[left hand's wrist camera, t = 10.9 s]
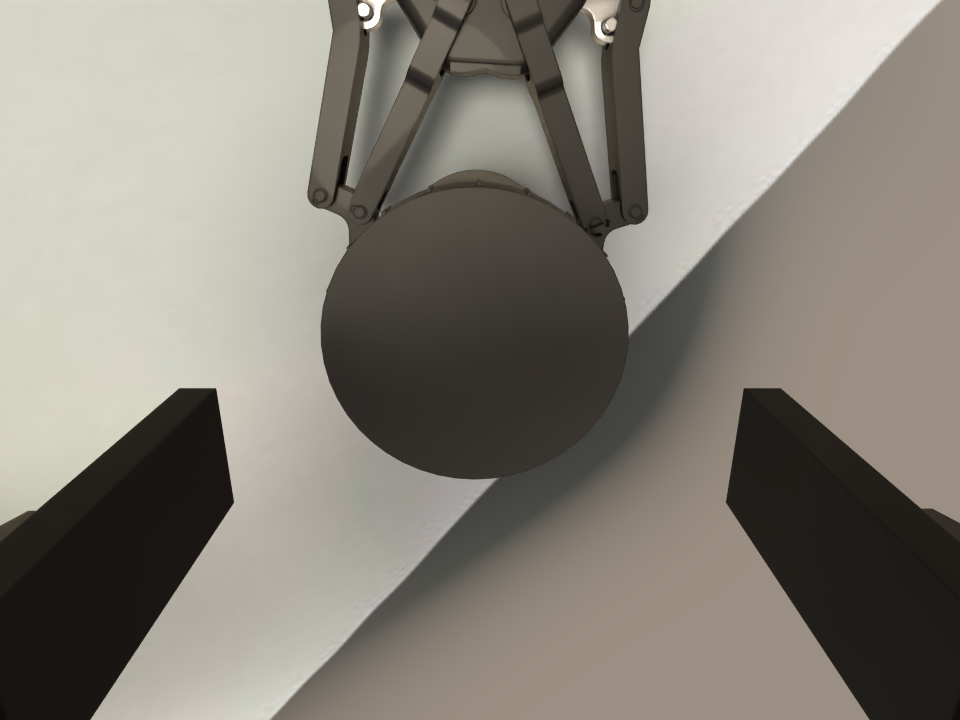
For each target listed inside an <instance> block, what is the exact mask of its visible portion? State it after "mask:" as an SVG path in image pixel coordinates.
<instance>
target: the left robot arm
mask: <svg viewBox="0 0 960 720" xmlns="http://www.w3.org/2000/svg"><path fill="white" fill-rule="evenodd" d="M233 503H234V499H233V493H232V487H231V480H230V474H229V467H228V461H227V455H226V448H225V442H224V435H223V429H222V423H221V416H220V410H219V404H218V397H217V391H216V388H179V389H178V390H177V391H176V392H175V393H173V394H172V395H171V396H170V397H169V398H168V399H166V400H165V401H164V402H163V403H162V404H161V405H159V406H158V407H157V408H156V409H155V410H154V411H152V412H151V413H150V414H149V415H148V416H147V417H145V418H144V419H143V420H142V421H141V422H140V423H138V424H137V425H136V426H135V427H134V428H133V429H131V430H130V431H129V432H128V433H127V434H126V435H124V436H123V437H122V438H121V439H120V440H119V441H117V442H116V443H115V444H114V445H113V446H112V447H110V448H109V449H108V450H107V451H106V452H105V453H103V454H102V455H101V456H100V457H99V458H98V459H96V460H95V461H94V462H93V463H92V464H91V465H89V466H88V467H87V468H86V469H85V470H84V471H82V472H81V473H80V474H79V475H78V476H77V477H75V478H74V479H73V480H72V481H71V482H70V483H68V484H67V485H66V486H65V487H64V488H63V489H61V490H60V491H59V492H58V493H57V494H56V495H54V496H53V497H52V498H51V499H50V500H49V501H47V502H46V503H45V504H44V505H43V506H42V507H40V508H39V509H38V510H37V511H27V512H25V513H24V514H22V515H20V516H18V517H16V518H14V519H12V520H10V521H8V522H7V523H5V524H3V525H1V526H0V720H90V719H91V718H92V716H93V715H94V713H95V712H96V710H97V709H98V707H99V706H100V704H101V703H102V701H103V700H104V698H105V697H106V695H107V694H108V692H109V691H110V689H111V688H112V686H113V685H114V683H115V682H116V680H117V679H118V677H119V676H120V674H121V673H122V671H123V670H124V668H125V667H126V665H127V663H128V662H129V660H130V659H131V657H132V656H133V654H134V653H135V651H136V650H137V648H138V647H139V645H140V644H141V642H142V641H143V639H144V638H145V636H146V635H147V633H148V632H149V630H150V629H151V627H152V626H153V624H154V623H155V621H156V620H157V618H158V617H159V615H160V614H161V612H162V611H163V609H164V608H165V606H166V605H167V603H168V602H169V600H170V599H171V597H172V595H173V594H174V592H175V591H176V589H177V588H178V586H179V585H180V583H181V582H182V580H183V579H184V577H185V576H186V574H187V573H188V571H189V570H190V568H191V567H192V565H193V564H194V562H195V561H196V559H197V558H198V556H199V555H200V553H201V552H202V550H203V549H204V547H205V546H206V544H207V543H208V541H209V540H210V538H211V537H212V535H213V534H214V532H215V530H216V529H217V527H218V526H219V524H220V523H221V521H222V520H223V518H224V517H225V515H226V514H227V512H228V511H229V509H230V508H231V506H232V505H233ZM726 503H727V505H728V506H729V508H730V509H731V511H732V512H733V514H734V515H735V517H736V518H737V520H738V521H739V523H740V524H741V526H742V527H743V529H744V530H745V532H746V533H747V535H748V537H749V538H750V539H751V541H752V543H753V544H754V546H755V547H756V549H757V550H758V552H759V553H760V555H761V556H762V558H763V559H764V561H765V562H766V564H767V565H768V567H769V568H770V570H771V571H772V573H773V574H774V576H775V577H776V579H777V580H778V582H779V583H780V585H781V586H782V588H783V589H784V591H785V592H786V594H787V595H788V597H789V598H790V600H791V602H792V603H793V605H794V606H795V607H796V609H797V611H798V612H799V614H800V615H801V617H802V618H803V620H804V621H805V623H806V624H807V626H808V627H809V629H810V630H811V632H812V633H813V635H814V636H815V638H816V639H817V641H818V642H819V644H820V645H821V647H822V648H823V650H824V651H825V653H826V654H827V656H828V657H829V659H830V660H831V662H832V663H833V665H834V667H835V668H836V670H837V671H838V673H839V674H840V676H841V677H842V679H843V680H844V681H845V683H846V685H847V686H848V688H849V689H850V691H851V692H852V694H853V695H854V697H855V698H856V700H857V701H858V703H859V704H860V706H861V707H862V709H863V710H864V712H865V713H866V715H867V716H868V718H869V719H870V720H960V523H958V522H957V521H955V520H953V519H951V518H949V517H947V516H945V515H943V514H941V513H939V512H937V511H936V510H934V509H921V508H920V507H918V506H917V505H916V504H915V503H914V502H913V501H911V500H910V499H909V498H908V497H907V496H906V495H904V494H903V493H902V492H901V491H900V490H899V489H897V488H896V487H895V486H894V485H893V484H892V483H890V482H889V481H888V480H887V479H886V478H885V477H883V476H882V475H881V474H880V473H879V472H878V471H876V470H875V469H874V468H873V467H872V466H871V465H869V464H868V463H867V462H866V461H865V460H864V459H862V458H861V457H860V456H859V455H858V454H857V453H855V452H854V451H853V450H852V449H851V448H850V447H848V446H847V445H846V444H845V443H844V442H843V441H841V440H840V439H839V438H838V437H837V436H836V435H834V434H833V433H832V432H831V431H830V430H829V429H827V428H826V427H825V426H824V425H823V424H822V423H820V422H819V421H818V420H817V419H816V418H815V417H813V416H812V415H811V414H810V413H809V412H808V411H806V410H805V409H804V408H803V407H802V406H801V405H799V404H798V403H797V402H796V401H795V400H794V399H792V398H791V397H790V396H789V395H788V394H787V393H785V392H784V391H783V390H782V389H781V388H744V391H743V397H742V404H741V410H740V416H739V423H738V429H737V435H736V442H735V448H734V455H733V461H732V467H731V474H730V480H729V487H728V493H727V499H726Z"/></svg>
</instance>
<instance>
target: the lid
mask: <svg viewBox="0 0 960 720" xmlns="http://www.w3.org/2000/svg"><path fill="white" fill-rule="evenodd" d="M381 214H382V215H381V216H380V217H379V218H378V219H377V220H375V221H374V222H373V223H372V224H371V225H370V226H369V227H368V228H367V229H366V230H365V231H364V232H362V233H361V234H360V235H359V236H358V238H356V239H355V240H354V241H353V242H352V243H351V244H349V245H348V247H347V248H346V249H348V250H347V251H346V253H345V255H344V256H343V258H342V260H341V261H340V263H339V264H338V266H337V268H336V270H335V272H334V275H333V277H332V279H331V282H330V284H329V286H328V288H327V291H326V292H327V293H326V297H325V301H324V305H323V311H322V319H321V347H322V354H323V360H324V365H325V368H326V372H327V375H328V378H329V382H330V384H331V386H332V388H333V391H334V393H335V395H336V397H337V399H338V401H339V402H340V404H341V406H342V407H343V409H344V411H345V412H346V414H347V415H348V417H349V418H350V419H351V420H352V421H353V423H354V424H355V425H356V426H357V428H358V429H359V430H360V431H361V432H362V433H363V434H364V435H365V436H366V437H367V438H368V439H369V440H370V441H372V442H373V443H374V444H375V445H377V446H378V447H379V448H381V449H382V450H383V451H385V452H386V453H387V454H389V455H391V456H393V457H394V458H396V459H398V460H400V461H401V462H403V463H405V464H408V465H410V466H412V467H415V468H417V469H419V470H422V471H426V472H429V473H432V474H436V475H440V476H446V477H452V478H460V479H491V478H498V477H504V476H510V475H514V474H517V473H521V472H524V471H527V470H530V469H532V468H535V467H537V466H540V465H542V464H544V463H546V462H548V461H550V460H552V459H553V458H555V457H557V456H559V455H560V454H562V453H563V452H565V451H566V450H567V449H569V448H570V447H572V446H573V445H574V444H576V443H577V442H578V441H579V440H580V439H581V438H582V437H583V436H584V435H585V434H586V433H587V432H588V431H589V430H590V429H591V428H592V427H593V426H594V424H595V423H596V422H597V421H598V420H599V418H600V417H601V416H602V414H603V413H604V411H605V410H606V408H607V406H608V405H609V403H610V402H611V400H612V398H613V396H614V394H615V391H616V389H617V387H618V385H619V383H620V379H621V376H622V373H623V369H624V366H625V361H626V355H627V349H628V318H627V310H626V304H625V298H624V297H623V293H622V289H621V286H620V284H619V282H618V279H617V277H616V274H615V272H614V270H613V268H612V266H611V265H610V263H609V261H608V260H607V258H606V257H608V256H607V254H606V253H605V252H604V251H603V250H602V249H601V248H600V247H599V246H598V245H597V244H596V243H595V241H594V240H593V239H592V238H591V236H590V235H588V234H587V233H586V232H585V231H584V230H583V229H582V228H581V227H580V226H579V225H578V224H577V223H576V222H575V219H576V218H574V217H573V216H572V215H571V214H570V213H569V212H568V211H566V212H565V213H564V212H563V211H562V210H560V209H559V208H557V207H556V206H555V205H553V204H552V203H550V202H549V201H547V200H545V199H543V198H541V197H539V196H537V195H535V194H533V193H532V192H531V191H530V190H529V189H528V188H525V190H522V189H519V188H516V187H513V186H508V185H504V184H499V183H492V182H481V179H478V181H471V182H456V183H451V184H446V185H441V186H436V187H434V186H433V185H430V186H429V187H428V188H427V190H424V191H421V192H419V193H416V194H414V195H412V196H410V197H408V198H406V199H405V200H403V201H401V202H399V203H398V204H396V205H395V206H393V207H392V208H391V206H388V207H387V208H386V209H385V210H383V211H382V212H381Z"/></svg>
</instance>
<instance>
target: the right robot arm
mask: <svg viewBox="0 0 960 720" xmlns="http://www.w3.org/2000/svg"><path fill="white" fill-rule="evenodd" d="M395 1H397V2H398V4H399V6H400V7H401V9H402V11H403V12H404V14H405V16H406V17H407V19H408V20H409V22H410V24H411V25H412V27H413V29H414V30H415V32H416V33H417V35H418V37H419V38H420V40H421V41H420V44H419V46H418V48H417V50H416V52H415V55H414V57H413V59H412V61H411V64H410V66H409V68H408V71H407V75H406V78H405V80H404V83H403V85H402V87H401V89H400V92H399V94H398V96H397V98H396V100H395V103H394V105H393V107H392V109H391V111H390V114H389V116H388V118H387V120H386V123H385V125H384V127H383V129H382V131H381V134H380V136H379V138H378V140H377V142H376V145H375V147H374V149H373V151H372V153H371V156H370V158H369V160H368V162H367V165H366V167H365V169H364V171H363V173H362V176H361V178H360V180H359V182H358V184H357V187H356V189H353V188H351V187H348V186H346V185H345V184H346V178H347V172H348V167H349V161H350V156H351V150H352V144H353V139H354V133H355V127H356V122H357V116H358V111H359V105H360V99H361V94H362V88H363V82H364V77H365V71H366V66H367V60H368V53H369V32H372V31H375V30H377V29H378V28H379V27H380V26H381V24H382V21H383V12H384V10H385V8H386V7H387V5H388V4H390V3H392V2H395ZM650 1H651V0H328V2H329V8H330V15H331V21H332V27H333V35H332V41H331V47H330V54H329V60H328V66H327V73H326V79H325V85H324V92H323V98H322V104H321V110H320V117H319V123H318V129H317V136H316V142H315V148H314V155H313V161H312V167H311V174H310V180H309V186H308V199H309V201H310V203H311V204H312V205H313V206H314V207H316V208H321V209H326V210H329V211H331V212H333V213H336V214H338V215H340V216H341V217H343V218H344V219H345V221H346V222H347V224H348V227H349V244H351V243H352V242H353V241H354V240H355V239H356V238H358V236H359V235H360V234H361V233H362V232H364V231H365V230H366V229H367V228H368V227H369V226H370V225H371V224H372V223H373V222H374V221H375V220H377V219H378V214H379V212H380V211H381V210H380V209H381V206H382V204H383V202H384V200H385V198H386V196H387V194H388V192H389V189H390V187H391V185H392V183H393V181H394V179H395V177H396V175H397V172H398V170H399V168H400V166H401V164H402V162H403V160H404V158H405V155H406V153H407V151H408V149H409V147H410V145H411V143H412V141H413V138H414V136H415V134H416V132H417V130H418V128H419V126H420V124H421V121H422V119H423V117H424V115H425V113H426V111H427V109H428V107H429V104H430V102H431V100H432V98H433V96H434V94H435V93H436V91H437V89H438V87H439V85H440V83H441V81H442V79H443V77H444V75H445V72H448V73H450V74H451V75H452V76H472V75H476V74H481V73H488V74H491V75H494V76H496V77H499V78H504V79H518V78H519V77H523V76H524V79H525V81H526V84H527V87H528V90H529V93H530V95H531V97H532V99H533V101H534V104H535V107H536V110H537V113H538V115H539V118H540V121H541V124H542V127H543V130H544V132H545V135H546V138H547V141H548V144H549V147H550V149H551V152H552V155H553V158H554V161H555V164H556V166H557V169H558V172H559V175H560V178H561V181H562V183H563V186H564V189H565V192H566V195H567V198H568V200H569V203H570V206H571V209H572V212H573V215H574V217H575V218H576V219H575V220H576V223H577V224H578V225H579V226H580V227H581V228H582V229H583V230H584V231H585V232H586V233H587V234H588V235H590V236H591V238H592V239H593V240H594V241H595V243H596V244H597V245H598V246H599V247H600V248H601V249H602V250H603V247H604V241H605V238H606V236H607V235H608V234H609V233H610V232H611V231H612V230H614V229H617V228H620V227H623V226H626V225H630V224H635V225H636V224H639V223H641V222H643V221H644V220H645V218H646V217H647V215H648V198H647V180H646V163H645V146H644V128H643V111H642V94H641V76H640V59H639V46H640V43H641V39H642V35H643V31H644V27H645V23H646V20H647V16H648V12H649V8H650ZM579 12H581V13H583V14H585V15H586V16H587V17H588V18H589V20H590V23H591V35H592V38H593V40H594V41H595V42H596V43H598V44H600V45H603V48H602V58H601V67H602V83H603V96H604V109H605V122H606V134H607V147H608V160H609V173H610V186H611V199H610V200H607V201H603V202H602V200H601V197H600V194H599V191H598V188H597V185H596V182H595V179H594V176H593V173H592V170H591V167H590V164H589V161H588V158H587V155H586V152H585V149H584V146H583V143H582V140H581V137H580V134H579V131H578V128H577V125H576V122H575V119H574V116H573V113H572V110H571V107H570V104H569V102H568V99H567V96H566V93H565V89H564V86H563V79H562V76H561V72H560V69H559V66H558V63H557V60H556V57H555V54H554V51H553V48H552V47H553V46H554V45H555V43H556V42H557V41H558V40H559V38H560V37H561V36H562V34H563V33H564V32H565V30H566V29H567V28H568V26H569V25H570V24H571V22H572V21H573V20H574V18H575V17H576V16H577V15H578V13H579Z"/></svg>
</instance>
